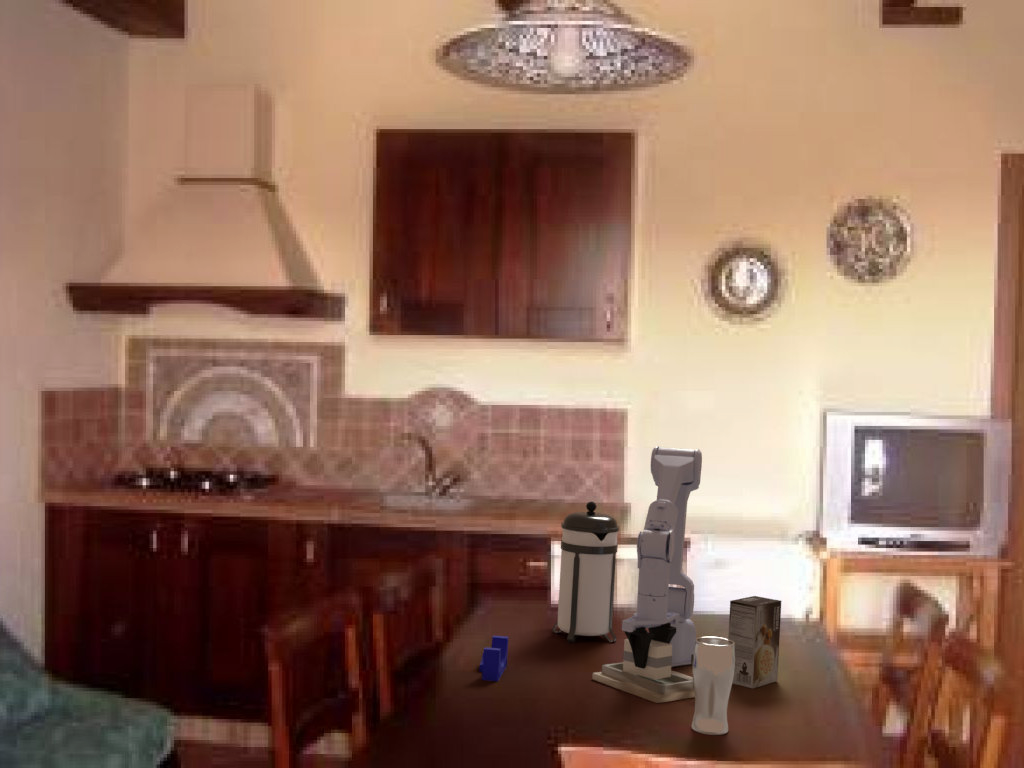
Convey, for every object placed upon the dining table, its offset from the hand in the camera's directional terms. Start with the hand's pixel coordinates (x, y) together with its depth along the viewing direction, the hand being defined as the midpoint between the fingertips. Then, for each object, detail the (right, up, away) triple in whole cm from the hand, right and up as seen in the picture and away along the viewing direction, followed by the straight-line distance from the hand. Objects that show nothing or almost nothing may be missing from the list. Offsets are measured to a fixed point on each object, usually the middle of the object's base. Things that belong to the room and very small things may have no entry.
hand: (648, 665), depth 234 cm
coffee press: (-11, -3, +41) cm, 42 cm away
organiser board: (+1, -4, +1) cm, 5 cm away
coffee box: (+21, -5, +8) cm, 23 cm away
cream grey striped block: (0, -2, 0) cm, 2 cm away
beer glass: (+7, -5, -25) cm, 27 cm away
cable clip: (-30, -3, +5) cm, 30 cm away
